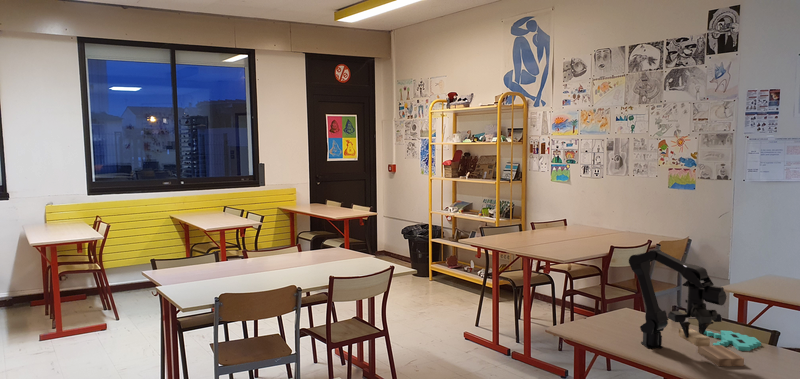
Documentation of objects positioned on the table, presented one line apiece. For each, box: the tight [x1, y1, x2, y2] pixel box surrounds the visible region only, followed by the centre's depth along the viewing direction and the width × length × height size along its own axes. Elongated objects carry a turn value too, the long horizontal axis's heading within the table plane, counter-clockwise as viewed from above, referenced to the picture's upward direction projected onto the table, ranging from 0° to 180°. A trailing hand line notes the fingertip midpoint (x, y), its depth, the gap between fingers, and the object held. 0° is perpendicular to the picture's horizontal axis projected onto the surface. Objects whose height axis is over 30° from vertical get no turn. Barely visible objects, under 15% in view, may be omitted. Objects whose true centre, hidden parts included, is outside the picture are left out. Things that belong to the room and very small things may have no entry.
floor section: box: [697, 344, 745, 367], centre depth 219 cm, size 10×14×3 cm
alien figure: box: [704, 329, 762, 352], centre depth 238 cm, size 20×2×20 cm
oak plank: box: [678, 327, 711, 348], centre depth 218 cm, size 12×5×3 cm, turn 6°
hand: (693, 337), depth 218 cm, fingers closed on oak plank, 5 cm apart
